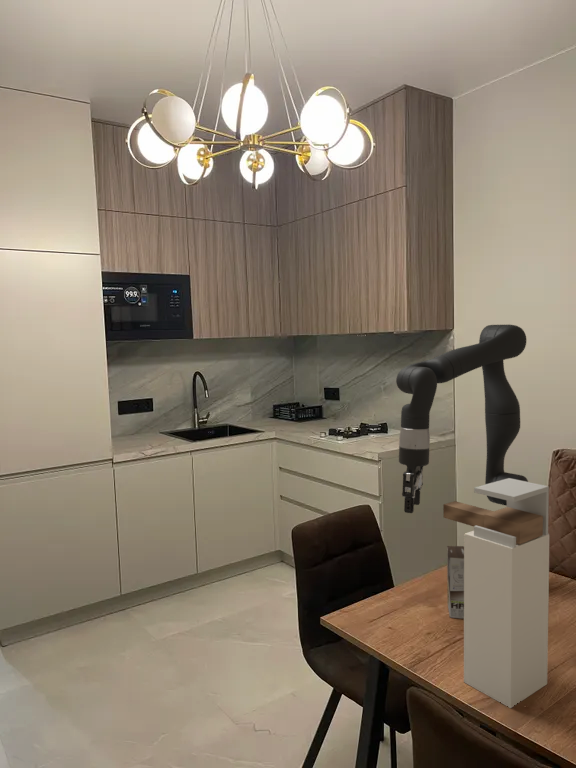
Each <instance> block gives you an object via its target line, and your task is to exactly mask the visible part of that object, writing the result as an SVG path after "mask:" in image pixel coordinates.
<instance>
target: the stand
mask: <svg viewBox="0 0 576 768" xmlns="http://www.w3.org/2000/svg"><path fill="white" fill-rule="evenodd" d="M473 488H474V489H473V492H474V493H476V494H479V495H483V496H486V497H487V496H491V497H495V498H499V499H503V500H507V506H506V507H510V508H514V509H518V510H522V511H526V512H530V513H533V514H537V515H541V516H543V535H542V536H540V537H537V538H535V539H532V540H529V541H527V542H524V543H522V544H517V543H516V537H514V536H511V535H507V534H504V533H501V532H497V531H494V530H490V529H487V528H484V527H480V526H477V525H476V526H473V530H471V531H468V532H466V533H464V535H463V539H464V540H463V544H464V545H463V546H464V619H463V683H465V684H466V685H469V686H470V687H472V688H473V689H475V690H477V691H479V692H481V693H482V694H485V695H486V696H488V697H489V698H491V699H493V700H495V701H497V702H498V703H500V702H501V704H502V705H504V706H506V707H507V706H508V707H507V708H509V709H512V708H513V707H515V706H517V703H518V704H519V703H521V702H522V701H524V700H525V699H527V698H528V697H530V696H531V695H533V694H534V693H536V692H537V691H539V690H540V689H542V688H544V687H545V686H546V685H547V684H548V665H549V664H548V661H549V660H548V659H549V658H548V657H549V656H548V655H549V653H548V650H549V645H548V644H549V591H550V589H549V587H550V586H549V583H550V533H549V503H550V502H549V501H550V499H549V497H550V496H549V495H550V494H549V493H550V492H549V491H550V489H549V488H550V486H549V485H544V484H540V483H534V482H529V481H528V482H526V481H521V480H516V479H511V478H508V479H504V480H500V481H497V482H493V483H489V484H485V483H484V484H482V485H480V486H479V485H478V486H474V487H473ZM520 701H521V702H520ZM514 705H515V706H514Z"/></svg>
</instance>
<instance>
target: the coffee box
mask: <svg viewBox="0 0 576 768" xmlns="http://www.w3.org/2000/svg"><path fill="white" fill-rule="evenodd" d="M446 547H447V550H446V551H447V553H446V556H447V557H446V560H447V563H446V565H447V566H446V571H447V574H446V577H447V582H446V583H447V584H446V585H447V586H446V587H447V589H446V590H447V599H446V600H447V602H446V603H447V607H448V614H449V615H448V616H449V618H453V619H462V620H464V545H460V546H459V545H457V546H456V545H455V546H454V545H453V546H452V545H447V546H446Z"/></svg>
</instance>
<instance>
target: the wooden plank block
mask: <svg viewBox="0 0 576 768" xmlns="http://www.w3.org/2000/svg"><path fill="white" fill-rule="evenodd" d="M442 506H443V508H442V509H443V514H442V515H443V519H447V520H451V521H453V522H458V523H460V524H463V525H467V526H471V527H474V526H476V525H477V526H480V527H484V528H487V529H490V530H494V531H497V532H501V533H504V534H507V535H511V536H514V537H516V543H517V544H522V543H524V542H527V541H529V540H532V539H535V538H537V537H540V536H542V535H543V516H541V515H537V514H533V513H530V512H526V511H522V510H518V509H514V508H510V507H507V506H506V507H504V508H501V509H497V510H490V509H487V508H482V507H479V506H475V505H471V504H467V503H464V502H460V501H456V500H454V501H450V502H447V503H444V504H443V505H442Z"/></svg>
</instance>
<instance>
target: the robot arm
mask: <svg viewBox="0 0 576 768" xmlns="http://www.w3.org/2000/svg"><path fill="white" fill-rule="evenodd" d="M526 346H527V336H526V333H525V331H524V329H523V328H522V327H520V326H518V325H515V324H490V325H486V326H485V327H483V328H482V330H481V332H480V335H479V340H478V343H476V344H470V345H467V346H461V347H458V348H454V349H452V350H449V351H447V352H445V353H444V352H443V353H442V354H440V355H437V356H435V357H433V358H431V359H430V358H429V359H427V360H423V361H419V362H415V363H412V364H409V365H406V366H404V367H403V368H401V369H400V370H399V372H398V373H397V375H396V381H395V383H396V387H397V388H398V389H399V390H400V391H401V392H403V393H405V394H409V395H412V397H411V400H410V403H407V404H404V405H402V408H401V411H400V412H401V413H400V431H399V436H398V437H399V442H398V445H399V446H398V462H399V464H401V465H402V466H406V471H404V472H403V473H402V491H401V492H402V493H401V495H402V497H403V498H404V506H403V507H404V509H403V511H404V513H407V514H413V513H414V510H415V506H418V505H420V503H421V491H422V487H423V485H424V483H423V478H424V467H425V466H428V465H429V463H430V445H431V444H430V442H431V441H430V439H431V437H430V434H431V433H430V413H431V409H432V406H433V403H434V400H435V396H436V393H437V388H438V384H444V383H448V382H450V381H451V380H454V379H457V378H458V377H460V376H462V375H464V374H467V373H468V372H469V373H470V372H471V371H474V370H477V369H478V368H481V370H482V376H483V390H484V416H485V417H484V419H485V420H484V421H485V434H486V463H485V479H484V480H485V481H484V482H485V483H484V485H485V484H489V483H493V482H497V481H500V480H504V479H508V478H511V479H516V480H521V481H526V482H529V480H528V478H527V477H526V476H524V475H522V474H516V473H511V472H506V471H505V457H506V454H507V452H508V450H509V448H510V446H511V445H512V444H513V442H514V440H515V439H516V438H517V436H518V434H519V432H520V429H521V407H520V406H521V405H520V402H519V399H518V398H517V395H516V393H515V391H514V390H513V388H512V386H511V384H510V383H509V380H508V379H507V376H506V372H505V371H506V370H505V366H504V364H505V363H504V360H509V359H513V358H517V357H518V356H520V355H521V354H522V353H524V350H525V349H526ZM486 498H487V499H488V501H489V502H492V503H493V504H498V505H502V506H506V507H507V500H503V499H499V498H495V497H491V496H487V495H486Z"/></svg>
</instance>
